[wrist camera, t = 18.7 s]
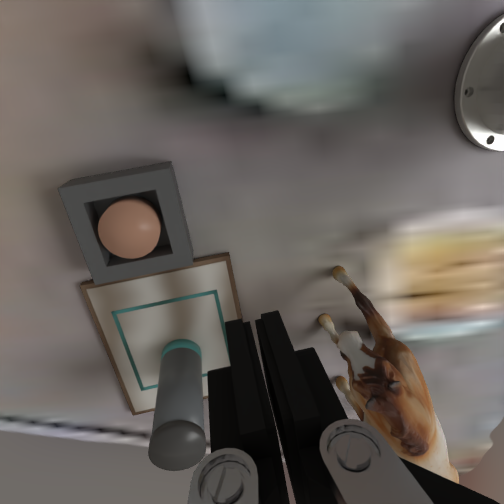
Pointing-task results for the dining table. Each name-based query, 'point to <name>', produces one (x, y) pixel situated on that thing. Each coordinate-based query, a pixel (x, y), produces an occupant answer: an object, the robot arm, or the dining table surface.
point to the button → (130, 227)
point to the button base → (110, 189)
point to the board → (164, 321)
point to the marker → (179, 408)
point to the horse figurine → (390, 389)
